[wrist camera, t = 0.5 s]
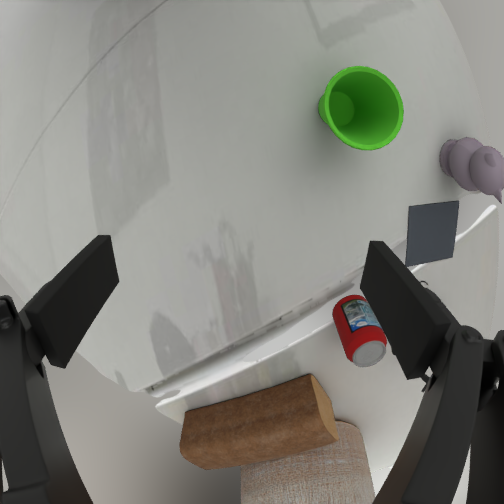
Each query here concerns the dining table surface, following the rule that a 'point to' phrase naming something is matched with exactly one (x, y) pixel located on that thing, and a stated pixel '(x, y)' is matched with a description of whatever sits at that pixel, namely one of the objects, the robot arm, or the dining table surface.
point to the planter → (313, 474)
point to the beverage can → (359, 331)
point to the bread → (260, 426)
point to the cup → (362, 108)
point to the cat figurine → (474, 166)
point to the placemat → (431, 232)
